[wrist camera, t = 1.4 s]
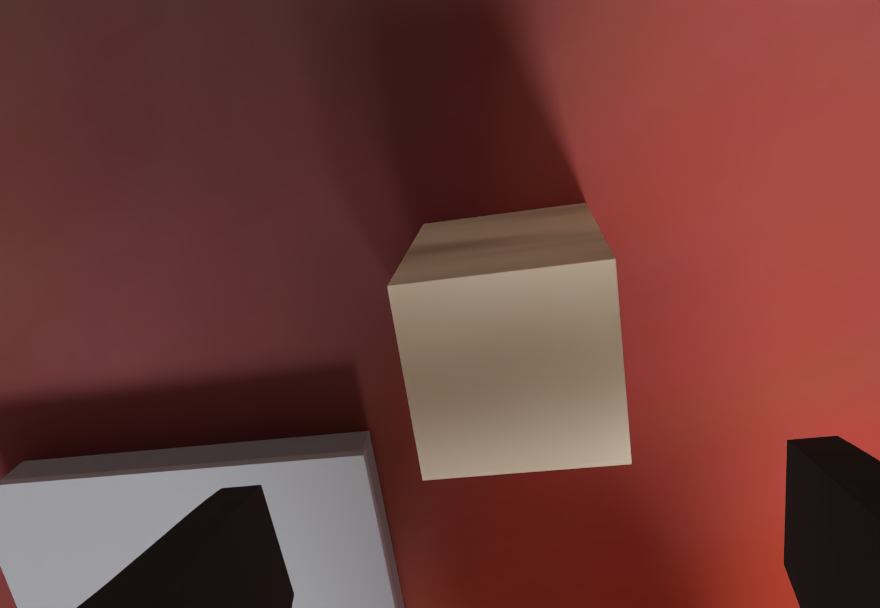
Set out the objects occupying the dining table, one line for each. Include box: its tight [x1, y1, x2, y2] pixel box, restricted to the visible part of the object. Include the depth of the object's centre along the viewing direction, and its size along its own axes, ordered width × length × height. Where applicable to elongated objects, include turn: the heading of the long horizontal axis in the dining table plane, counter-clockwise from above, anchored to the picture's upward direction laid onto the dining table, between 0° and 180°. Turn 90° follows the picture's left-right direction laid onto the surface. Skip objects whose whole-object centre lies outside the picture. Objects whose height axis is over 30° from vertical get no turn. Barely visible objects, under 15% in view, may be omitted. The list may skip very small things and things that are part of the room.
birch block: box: [387, 203, 632, 480], centre depth 17 cm, size 4×4×6 cm
